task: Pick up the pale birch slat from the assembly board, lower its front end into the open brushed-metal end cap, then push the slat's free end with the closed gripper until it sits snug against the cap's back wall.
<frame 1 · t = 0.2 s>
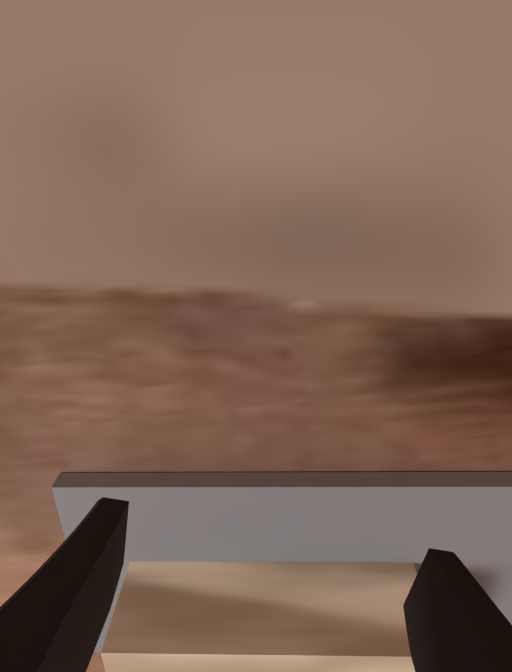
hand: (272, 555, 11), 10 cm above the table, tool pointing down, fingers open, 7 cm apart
birch slat: (270, 579, 24), point 1 cm above the table, touching assembly board
assembly board: (415, 563, 25), on the table
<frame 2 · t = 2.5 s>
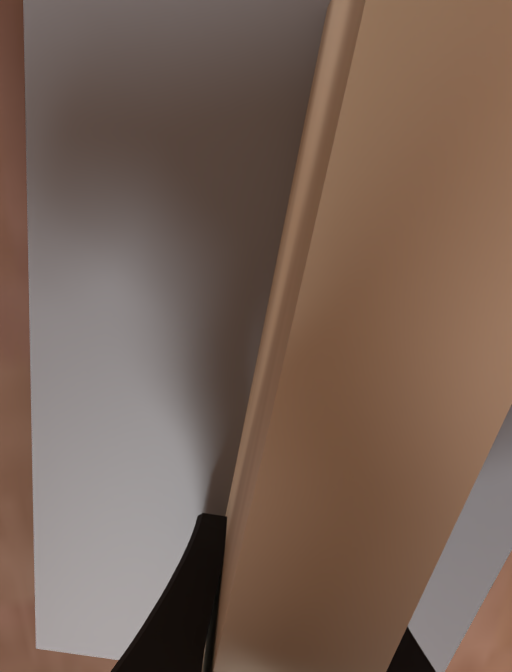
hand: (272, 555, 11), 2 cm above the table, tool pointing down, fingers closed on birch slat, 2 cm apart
birch slat: (307, 398, 10), point 1 cm above the table, touching assembly board, gripper
assembly board: (398, 1, 8), on the table
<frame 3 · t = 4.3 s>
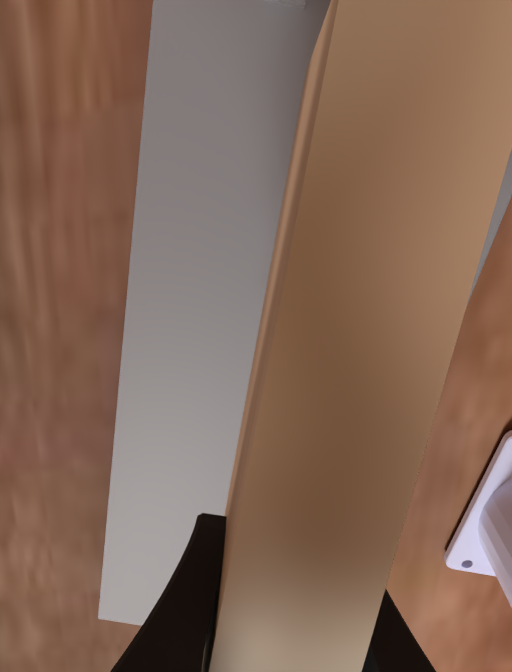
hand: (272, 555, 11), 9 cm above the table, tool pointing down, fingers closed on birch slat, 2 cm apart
birch slat: (299, 394, 12), point 7 cm above the table, tilted 11°, touching gripper
assembly board: (286, 325, 19), on the table
when the fingers open (3 cm above the table, at t = 6.4 s): birch slat stays where it is, resting on assembly board.
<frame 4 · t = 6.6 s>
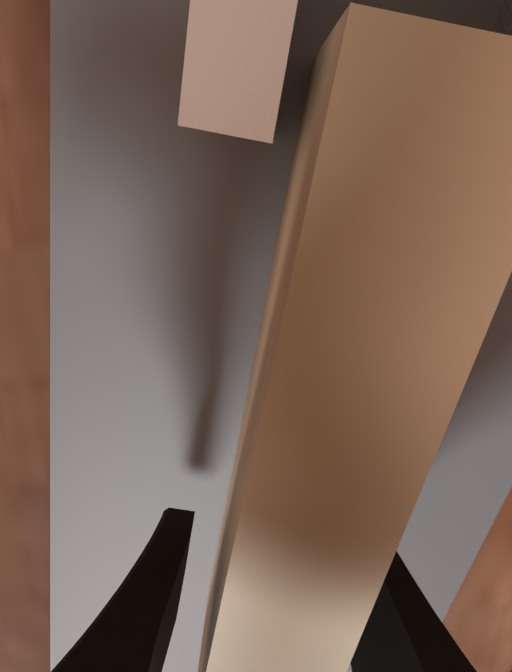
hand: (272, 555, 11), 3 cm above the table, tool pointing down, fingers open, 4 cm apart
birch slat: (299, 397, 12), point 1 cm above the table, touching assembly board
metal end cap: (386, 13, 9), resting on assembly board
assembly board: (266, 503, 14), on the table
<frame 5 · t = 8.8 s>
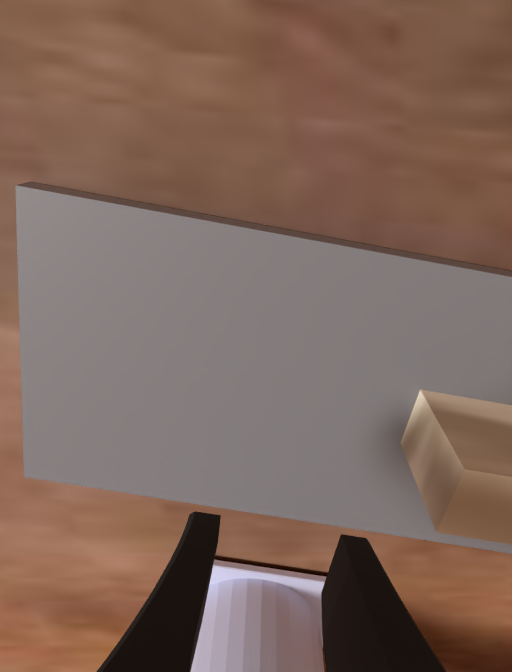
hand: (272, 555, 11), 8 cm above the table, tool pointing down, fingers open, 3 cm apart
assembly board: (465, 413, 19), on the table
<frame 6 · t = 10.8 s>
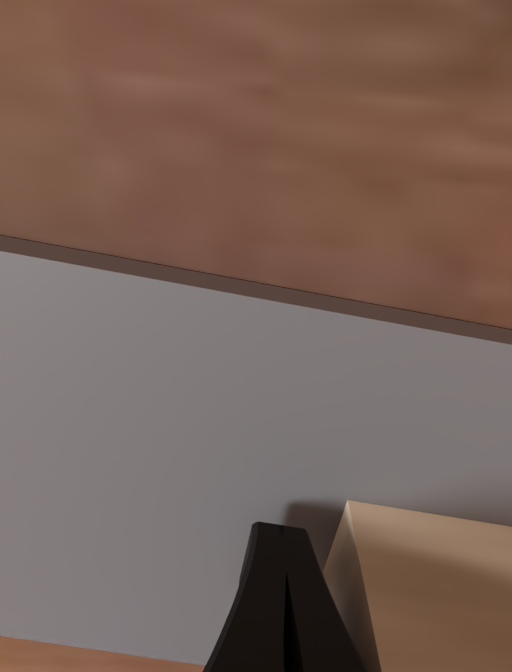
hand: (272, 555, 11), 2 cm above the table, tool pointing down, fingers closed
assembly board: (404, 519, 13), on the table
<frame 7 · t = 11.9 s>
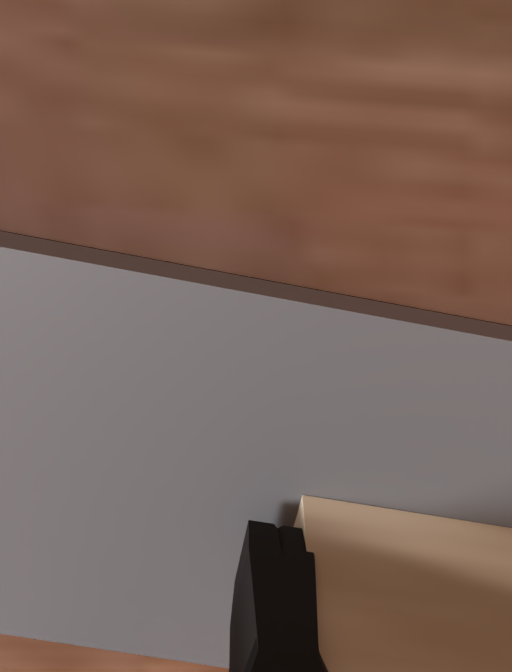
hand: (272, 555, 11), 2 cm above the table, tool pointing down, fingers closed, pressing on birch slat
assembly board: (273, 496, 13), on the table
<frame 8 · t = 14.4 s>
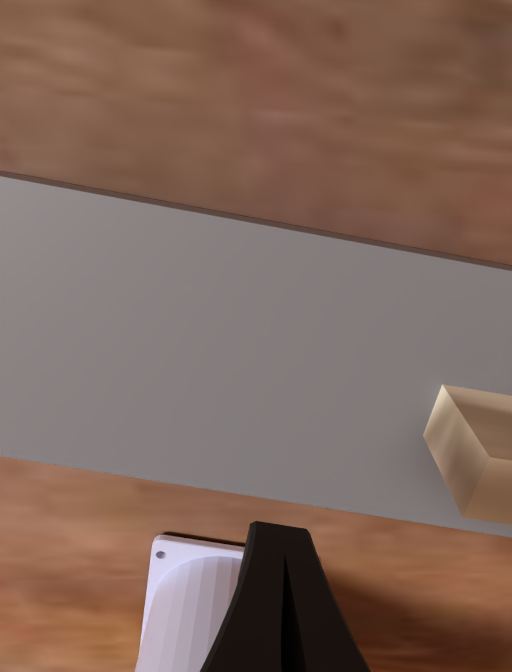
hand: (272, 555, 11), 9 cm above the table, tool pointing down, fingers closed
assembly board: (422, 394, 20), on the table
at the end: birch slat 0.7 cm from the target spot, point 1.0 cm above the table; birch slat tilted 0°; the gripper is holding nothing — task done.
